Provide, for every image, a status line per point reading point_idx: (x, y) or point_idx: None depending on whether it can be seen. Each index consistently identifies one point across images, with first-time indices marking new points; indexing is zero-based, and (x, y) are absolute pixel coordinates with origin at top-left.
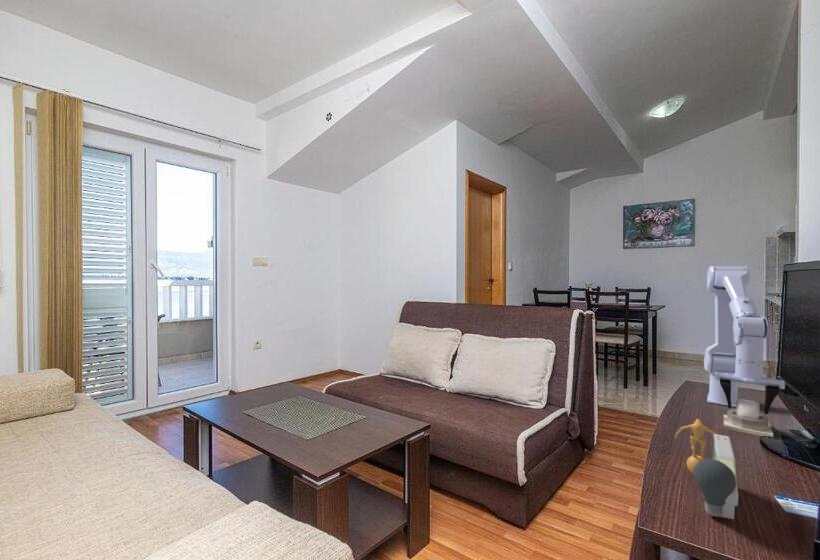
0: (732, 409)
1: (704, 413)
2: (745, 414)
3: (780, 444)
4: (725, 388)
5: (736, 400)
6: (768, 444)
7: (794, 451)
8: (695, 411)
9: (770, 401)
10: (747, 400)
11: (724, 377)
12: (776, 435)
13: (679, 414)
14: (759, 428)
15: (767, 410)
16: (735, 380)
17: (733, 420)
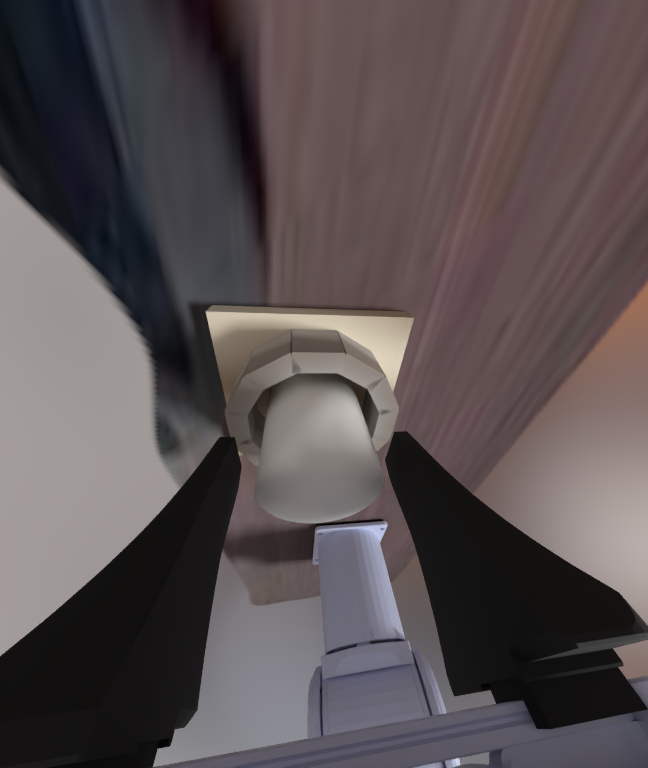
0: None
1: (422, 446)
2: (329, 398)
3: (167, 220)
4: (546, 565)
5: (379, 489)
6: (220, 167)
7: (63, 98)
8: (445, 448)
9: (162, 523)
10: (317, 516)
11: (609, 760)
12: (207, 361)
13: (521, 393)
14: (266, 346)
15: (212, 453)
16: (485, 745)
17: (376, 361)
